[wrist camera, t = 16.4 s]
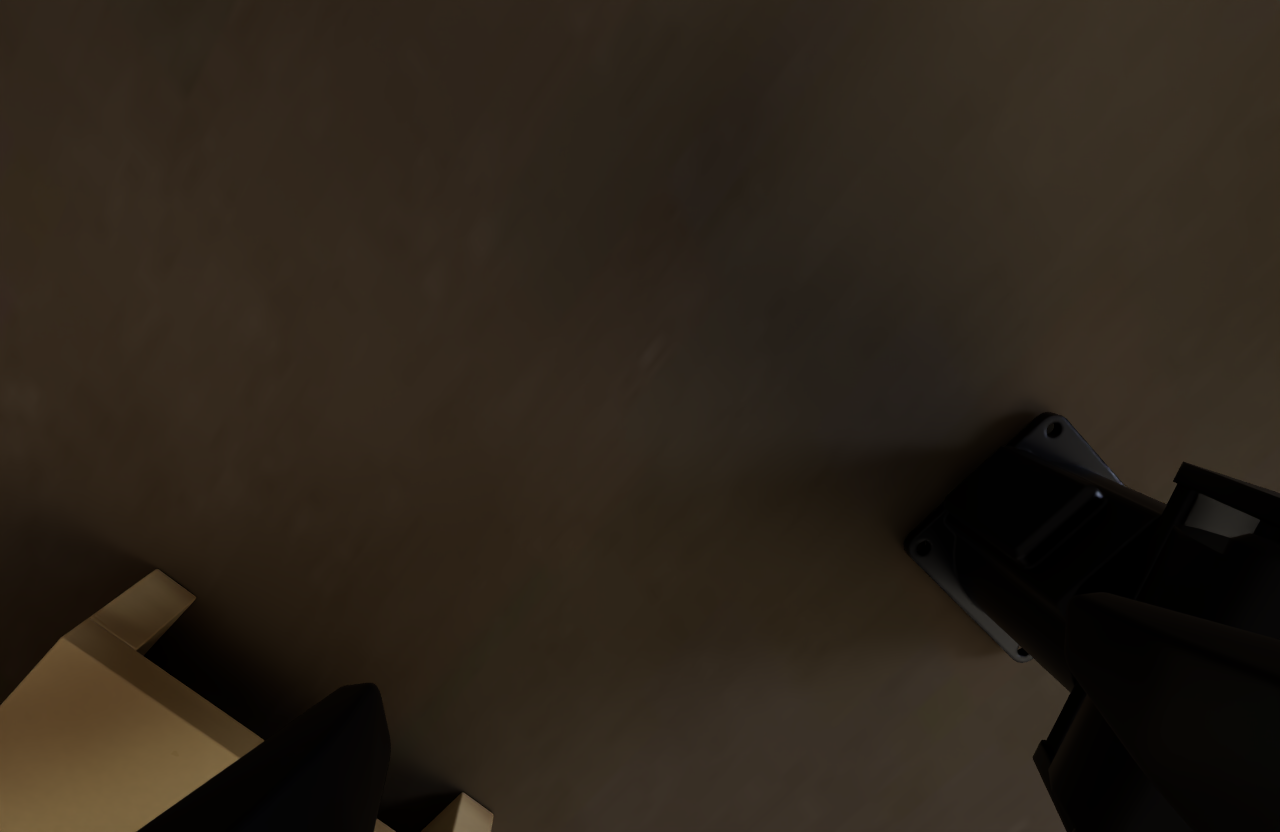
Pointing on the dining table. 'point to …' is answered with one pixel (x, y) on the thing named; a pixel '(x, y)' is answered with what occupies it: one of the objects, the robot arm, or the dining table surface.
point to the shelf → (125, 729)
